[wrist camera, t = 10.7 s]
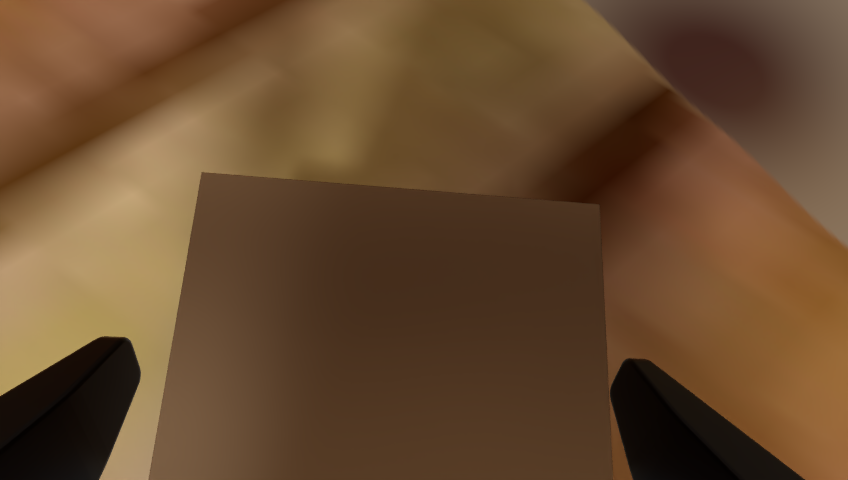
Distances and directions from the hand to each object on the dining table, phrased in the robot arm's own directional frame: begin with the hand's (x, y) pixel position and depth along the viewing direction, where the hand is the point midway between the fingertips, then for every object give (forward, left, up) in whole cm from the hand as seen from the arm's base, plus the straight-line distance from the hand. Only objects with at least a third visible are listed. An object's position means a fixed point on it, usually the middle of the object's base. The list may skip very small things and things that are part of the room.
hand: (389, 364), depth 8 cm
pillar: (0, 0, -7) cm, 7 cm away
